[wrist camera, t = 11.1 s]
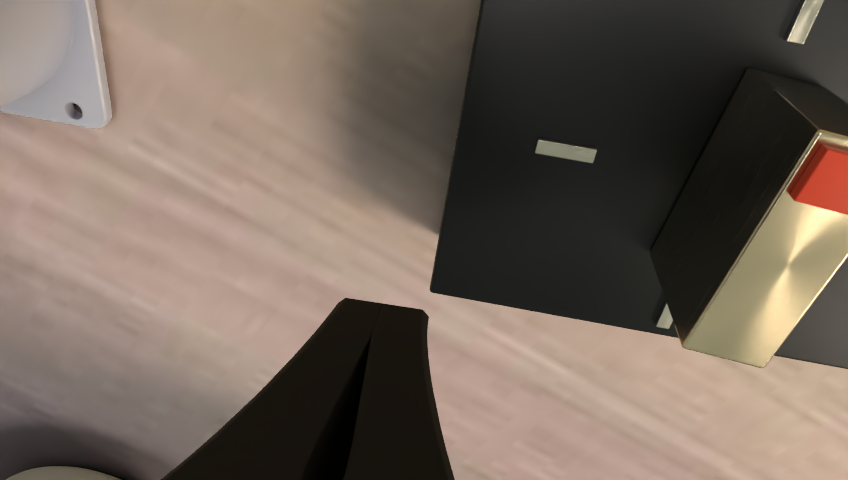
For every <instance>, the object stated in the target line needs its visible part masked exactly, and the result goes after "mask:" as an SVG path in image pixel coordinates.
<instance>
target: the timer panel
mask: <svg viewBox="0 0 848 480" xmlns="http://www.w3.org/2000/svg"><path fill="white" fill-rule="evenodd" d="M748 68H753V69H757V70H760V71H764V72H768V73H772V74H775V75H779V76H783V77H787V78H791V79H794V80H798V81H802V82H806V83H809V84H813V85H817V86H821V87H824V88H827V89H828V90H830V91H831V92H832V93H834V94H835V95H837V96H838V97H839V98H841V99H842V100H844V101H845V102H846V103H848V0H481V3H480V9H479V15H478V20H477V26H476V31H475V37H474V43H473V48H472V54H471V60H470V65H469V71H468V76H467V82H466V88H465V93H464V99H463V105H462V110H461V116H460V121H459V127H458V133H457V138H456V144H455V150H454V155H453V161H452V166H451V172H450V178H449V183H448V189H447V195H446V200H445V206H444V212H443V217H442V223H441V228H440V234H439V240H438V245H437V251H436V257H435V262H434V268H433V273H432V279H431V285H430V291H431V292H432V293H438V294H443V295H448V296H454V297H459V298H465V299H470V300H476V301H481V302H487V303H492V304H497V305H503V306H508V307H514V308H519V309H525V310H530V311H535V312H541V313H546V314H552V315H557V316H563V317H568V318H573V319H579V320H584V321H590V322H595V323H601V324H606V325H612V326H617V327H622V328H628V329H633V330H639V331H644V332H650V333H655V334H660V335H666V336H671V337H677V338H679V336H678V334H677V331H676V328H675V325H674V322H673V319H672V317H671V314H670V311H669V308H668V305H667V302H666V299H665V297H664V294H663V291H662V288H661V285H660V282H659V280H658V277H657V274H656V271H655V268H654V265H653V263H652V260H651V257H650V252H651V250H652V248H653V246H654V244H655V242H656V241H657V239H658V237H659V235H660V233H661V231H662V229H663V227H664V225H665V223H666V222H667V220H668V218H669V216H670V214H671V212H672V210H673V208H674V206H675V205H676V203H677V201H678V199H679V197H680V195H681V193H682V191H683V189H684V188H685V186H686V184H687V182H688V180H689V178H690V176H691V174H692V172H693V171H694V169H695V167H696V165H697V163H698V161H699V159H700V157H701V155H702V153H703V152H704V150H705V148H706V146H707V144H708V142H709V140H710V138H711V136H712V135H713V133H714V131H715V129H716V127H717V125H718V123H719V121H720V119H721V118H722V116H723V114H724V112H725V110H726V108H727V106H728V104H729V102H730V101H731V99H732V97H733V95H734V93H735V91H736V89H737V87H738V85H739V83H740V82H741V80H742V78H743V76H744V74H745V72H746V70H747V69H748ZM774 355H775V356H780V357H785V358H791V359H796V360H802V361H807V362H813V363H818V364H823V365H829V366H834V367H840V368H845V369H848V257H847V259H846V260H845V261H844V263H843V264H842V265H841V267H840V268H839V269H838V271H837V272H836V273H835V275H834V276H833V277H832V279H831V280H830V281H829V283H828V284H827V285H826V287H825V288H824V289H823V291H822V292H821V293H820V295H819V296H818V297H817V298H816V300H815V301H814V302H813V304H812V305H811V306H810V308H809V309H808V310H807V312H806V313H805V314H804V316H803V317H802V318H801V320H800V321H799V322H798V324H797V325H796V326H795V328H794V329H793V330H792V332H791V333H790V334H789V336H788V337H787V338H786V340H785V341H784V342H783V344H782V345H781V346H780V348H779V349H778V350H777V351H776V353H775V354H774Z"/></svg>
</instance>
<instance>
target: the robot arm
mask: <svg viewBox="0 0 848 480" xmlns="http://www.w3.org/2000/svg"><path fill="white" fill-rule="evenodd" d="M73 103H74V104H77V105H78V106H79V107H80V108H81V111H82V114H80V113H78V112H77V111H76V110H75V108H74V106H73ZM0 112H3V113H8V114H14V115H19V116H25V117H31V118H36V119H42V120H47V121H53V122H59V123H64V124H70V125H75V126H81V127H86V128H92V129H100V128H102V127H103V126H105V125H107V124H108V123H109V122H110V121H111V119H112V108H111V101H110V95H109V88H108V82H107V75H106V69H105V62H104V56H103V49H102V43H101V36H100V30H99V23H98V17H97V10H96V4H95V0H0ZM428 319H429V317H428V315H427V314H426V313H425V312H424V311H423V310H421V309H414V308H408V307H401V306H395V305H388V304H382V303H375V302H369V301H362V300H356V299H349V298H345V299H344V300H342V301H340V302H339V303H338V304H337V305H336V307H335V308H334V309H333V311H332V312H331V313H330V314H329V316H328V317H327V318H326V319H325V321H324V322H323V323H322V324H321V326H320V327H319V328H318V329H317V330H316V332H315V333H314V334H313V335H312V336H311V337H310V339H309V340H308V341H307V342H306V343H305V344H304V345H303V346H302V348H301V349H300V350H299V351H298V352H297V353H296V354H295V355H294V357H293V358H292V359H291V360H290V361H289V362H288V363H287V364H286V365H285V366H284V367H283V368H282V369H281V370H280V371H279V372H278V373H277V374H276V375H275V377H274V378H273V379H272V380H271V381H270V382H269V383H268V384H267V385H266V386H265V387H264V388H263V389H262V390H261V391H260V392H259V393H258V394H257V395H256V396H255V397H254V398H253V399H252V400H251V401H250V402H249V403H248V404H246V405H245V406H244V407H243V408H242V409H241V410H240V411H239V412H238V413H237V414H236V415H235V416H234V417H233V418H232V419H231V420H229V421H228V422H227V423H226V424H225V425H224V426H223V427H222V428H221V429H220V430H219V431H218V432H217V433H216V434H214V435H213V436H212V437H211V438H210V439H209V440H208V441H207V442H205V443H204V444H203V445H202V446H201V447H200V448H199V449H197V450H196V451H195V452H194V453H193V454H192V455H190V456H189V457H188V458H187V459H186V460H184V461H183V462H182V463H181V464H180V465H178V466H177V467H176V468H175V469H173V470H172V471H171V472H170V473H169V474H167V475H166V476H165V477H164V478H162V479H161V480H454V476H453V472H452V469H451V465H450V462H449V458H448V455H447V451H446V447H445V443H444V439H443V435H442V431H441V427H440V422H439V417H438V413H437V408H436V403H435V398H434V393H433V388H432V382H431V375H430V367H429V359H428V347H427V326H428Z"/></svg>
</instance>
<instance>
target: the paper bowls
mask: <svg viewBox="0 0 848 480" xmlns="http://www.w3.org/2000/svg"><path fill="white" fill-rule="evenodd" d="M6 480H121V479H118V478H116V477H113V476H111V475H107V474H104V473H101V472H97V471H93V470H89V469H84V468H78V467H69V466H48V467H40V468H34V469H30V470H26V471H23V472H20V473H18V474H15V475H13V476H11V477H10V478H8V479H6Z"/></svg>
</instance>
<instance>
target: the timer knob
mask: <svg viewBox="0 0 848 480" xmlns="http://www.w3.org/2000/svg"><path fill="white" fill-rule="evenodd" d="M650 257H651V260H652V263H653V265H654V268H655V271H656V274H657V277H658V280H659V282H660V285H661V288H662V291H663V294H664V297H665V299H666V302H667V305H668V308H669V311H670V314H671V317H672V319H673V322H674V325H675V328H676V331H677V334H678V336H679V339H680V342H681V345H682V347H683V348H685V349H689V350H693V351H697V352H701V353H705V354H709V355H713V356H716V357H720V358H724V359H728V360H732V361H736V362H740V363H744V364H748V365H752V366H755V367H759V368H764V367H765V366H766V365H767V363H768V362H769V361H770V359H771V358H772V357H773V355H774V354H775V353H776V351H777V350H778V349H779V348H780V346H781V345H782V344H783V342H784V341H785V340H786V338H787V337H788V336H789V334H790V333H791V332H792V330H793V329H794V328H795V326H796V325H797V324H798V322H799V321H800V320H801V318H802V317H803V316H804V314H805V313H806V312H807V310H808V309H809V308H810V306H811V305H812V304H813V302H814V301H815V300H816V298H817V297H818V296H819V295H820V293H821V292H822V291H823V289H824V288H825V287H826V285H827V284H828V283H829V281H830V280H831V279H832V277H833V276H834V275H835V273H836V272H837V271H838V269H839V268H840V267H841V265H842V264H843V263H844V261H845V260H846V259H847V257H848V103H846V102H845V101H844V100H842V99H841V98H839V97H838V96H837V95H835V94H834V93H832V92H831V91H830V90H828V89H827V88H824V87H821V86H817V85H813V84H809V83H806V82H802V81H798V80H794V79H791V78H787V77H783V76H779V75H775V74H772V73H768V72H764V71H760V70H757V69H753V68H748V69H747V70H746V72H745V74H744V76H743V78H742V80H741V82H740V83H739V85H738V87H737V89H736V91H735V93H734V95H733V97H732V99H731V101H730V102H729V104H728V106H727V108H726V110H725V112H724V114H723V116H722V118H721V119H720V121H719V123H718V125H717V127H716V129H715V131H714V133H713V135H712V136H711V138H710V140H709V142H708V144H707V146H706V148H705V150H704V152H703V153H702V155H701V157H700V159H699V161H698V163H697V165H696V167H695V169H694V171H693V172H692V174H691V176H690V178H689V180H688V182H687V184H686V186H685V188H684V189H683V191H682V193H681V195H680V197H679V199H678V201H677V203H676V205H675V206H674V208H673V210H672V212H671V214H670V216H669V218H668V220H667V222H666V223H665V225H664V227H663V229H662V231H661V233H660V235H659V237H658V239H657V241H656V242H655V244H654V246H653V248H652V250H651V252H650Z"/></svg>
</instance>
